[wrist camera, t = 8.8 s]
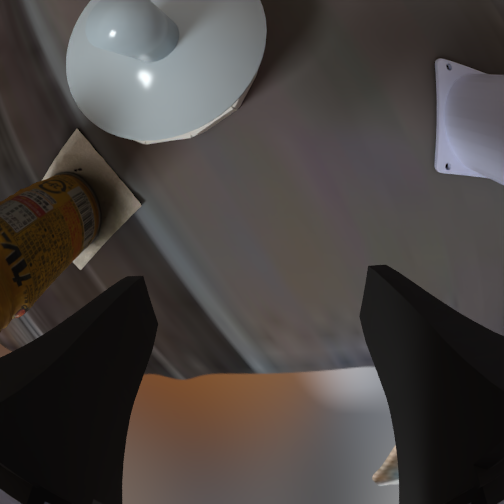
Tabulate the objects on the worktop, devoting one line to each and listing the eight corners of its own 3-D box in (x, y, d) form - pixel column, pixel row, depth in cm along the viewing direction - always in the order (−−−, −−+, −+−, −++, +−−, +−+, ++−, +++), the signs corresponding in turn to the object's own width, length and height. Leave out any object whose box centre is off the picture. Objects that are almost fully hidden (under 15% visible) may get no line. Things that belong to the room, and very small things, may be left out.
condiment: (27, 205, 18) (-75, 284, 7) (78, 127, 15) (-69, 179, 5) (82, 268, 21) (0, 377, 10) (143, 203, 18) (34, 324, 7)
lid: (266, -44, 8) (268, -95, 4) (265, 135, 13) (268, 148, 8) (81, -11, 8) (31, -33, 4) (77, 149, 13) (19, 171, 9)
